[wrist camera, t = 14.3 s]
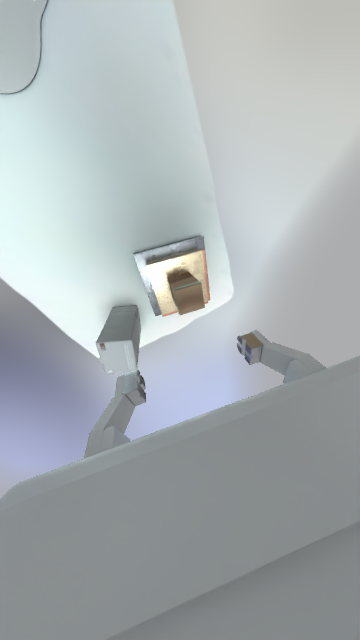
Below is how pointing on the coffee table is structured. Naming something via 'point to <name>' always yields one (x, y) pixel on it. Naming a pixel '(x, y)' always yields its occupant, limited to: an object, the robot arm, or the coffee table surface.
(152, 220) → the coffee table surface
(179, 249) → the stand
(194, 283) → the walnut column
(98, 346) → the skincare box
